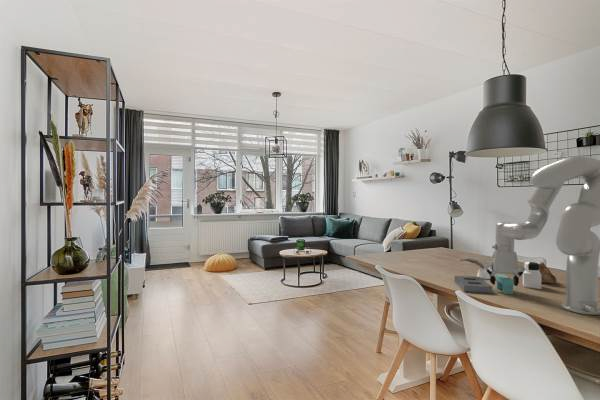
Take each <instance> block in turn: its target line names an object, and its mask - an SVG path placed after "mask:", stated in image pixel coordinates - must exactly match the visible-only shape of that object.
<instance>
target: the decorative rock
mask: <svg viewBox="0 0 600 400" xmlns="http://www.w3.org/2000/svg"><path fill="white" fill-rule="evenodd" d="M538 264H539V272H540V273H541V283H548V284H556V283H557V278H556V276H555V275H554V274H553V273H552V272H551V271H550V269H549V268H548V267H547V266H546V264H545V263H544V262H543V261H541V262H540V263H538Z"/></svg>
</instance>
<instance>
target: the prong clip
mask: <svg viewBox="0 0 600 400" xmlns="http://www.w3.org/2000/svg"><path fill="white" fill-rule="evenodd" d="M495 281H496V290H501V291H502V294H504V295H514V286H515V285H514V280H513V278H511V277H509V276H508V275H506V274H495Z"/></svg>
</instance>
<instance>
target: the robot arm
mask: <svg viewBox="0 0 600 400" xmlns="http://www.w3.org/2000/svg"><path fill="white" fill-rule="evenodd" d="M575 179H582V180H584V182H583V185H582V186H581V188H580V190H579V191H580V192H579V197H578V200H577V202H575V203H571V204H569V205H568V206H567V207H565V209H564V210H563V212H562V214H561V216H560V217H561V218H560V221H559V225H558V230H557V233H556V234H557V235H556V238H555V244H556V247H557V249H558V250H559V251H560V252H561V253H562V254H564V255H567V258H566V268H565V269H566V275H565V277H566V278H565V279H566V280H565V282H566V283H565V285H566V287H565V293H566V294H565V301H564V302H562V303H561V304H560V306H561V308H563V310H567V311H569V312H571V313H577V314H582V315H590V316H597V315H598V316H600V307H599V303H598V302H599V296H598V295H599V259H600V237H599V236H598V234H596V232H593V231H591V228H593V227H597V226H599V225H600V159H597V158H595V157H589V156H582V155H573V156H568V157H565V158H563V159H559V160H558V161H555V162H553V163H550V164H548V165H545V166H543V167H540V168H538V169H537V170H535V171H534V172H533V173H532V175H531V178H530V180H531V181H530V182H531V185H533V189H532V191H531V193H530V195H529V196H528V198H527V204H528V205H529V206H530V213H529V215H528V218H527V219H526V221H525V222H520V223H518V222H517V223H513V222H508V221H507V222H506V221H499V222H497V223H495V244H494V245H491V248H492V249H494V250H493V254H492V258H491V262H490V263H488V264H485V265H484V268H485V270H486V271H487V272H488V273H489V274H490V279H489V282H490V283H491V284H492V285H493V286H494V285H495V284H496V275H497V274H511V275H512V274H513V277H512V280H514V286H516V287H518V286H519V284H520V279H519V278H520V277H521V276H523V272H524V271H525V266H522V265H520V264H519V261H518V259H519V258H518V255H517V252H516V251H515V241H516V240H517V241H524V240H533V239H535V238H537V237H538V236H539V235H541V234H540V233H541V232H542V231H543V229H544V228H545V225H546V224H547V222H548V218H549V214H550V208H551V206H552V204H553V203H554V201H555V199H556V198H557V196H558V194H559V192H560V191H561V190H562V187H563V186H564V184H565V182H567V181H570V180H575ZM489 268H491V270H492V271H490V270H489ZM519 269H520V270H519ZM494 275H495V276H494Z"/></svg>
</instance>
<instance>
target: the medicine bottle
mask: <svg viewBox="0 0 600 400" xmlns="http://www.w3.org/2000/svg"><path fill="white" fill-rule="evenodd" d="M539 264H540V263H538V262H534V261H527V262H524V268H525V271H524V272H523V274H522V285H523V288H527V289H535V290H536V289H537V290H541V289H542V282H541V273H540V272H539Z"/></svg>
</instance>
